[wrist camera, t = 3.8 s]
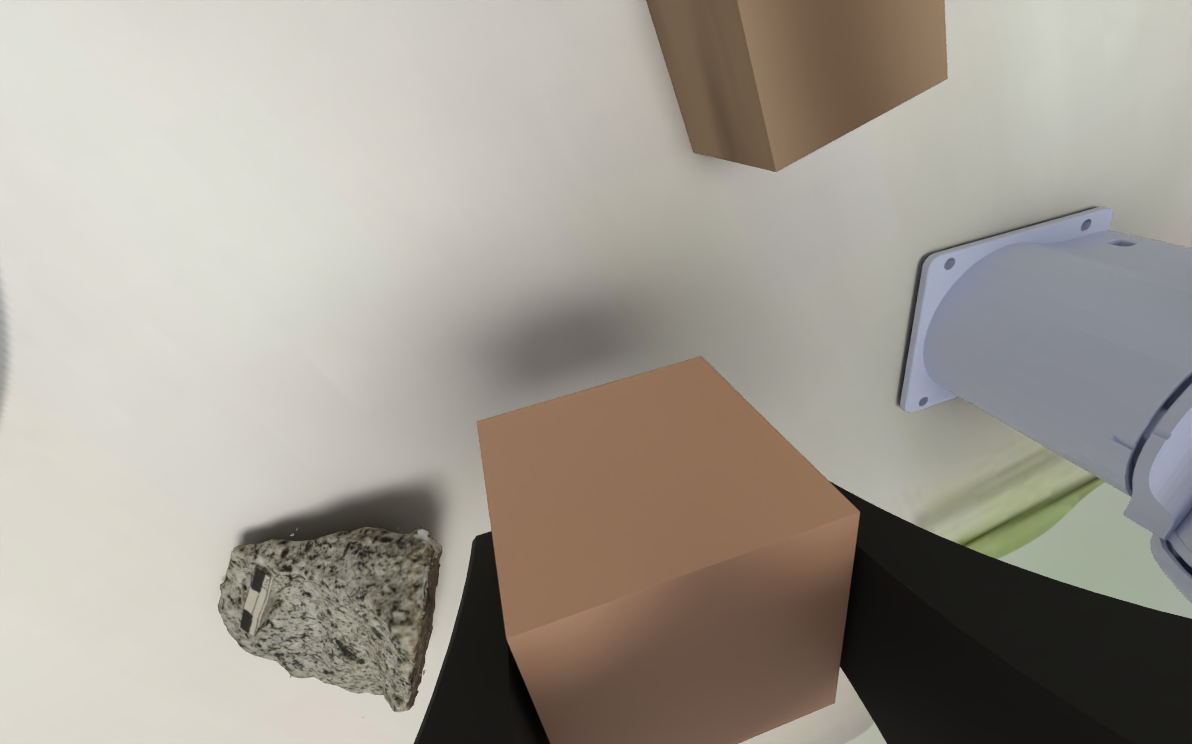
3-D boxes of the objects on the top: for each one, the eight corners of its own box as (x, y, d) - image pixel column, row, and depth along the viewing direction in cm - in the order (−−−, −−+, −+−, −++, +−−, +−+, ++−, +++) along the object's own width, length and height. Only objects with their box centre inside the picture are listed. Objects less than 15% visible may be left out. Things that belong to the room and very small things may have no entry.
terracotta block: (701, 356, 11) (860, 511, 7) (712, 517, 14) (834, 702, 10) (476, 421, 11) (506, 638, 6) (531, 579, 13) (578, 810, 9)
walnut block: (793, -102, 15) (937, -179, 11) (822, 81, 17) (947, 78, 13) (639, -20, 15) (722, -64, 11) (692, 151, 17) (776, 171, 13)
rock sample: (75, 581, 14) (290, 819, 13) (322, 415, 19) (501, 570, 17) (197, 655, 22) (339, 808, 20) (350, 524, 27) (476, 639, 25)
